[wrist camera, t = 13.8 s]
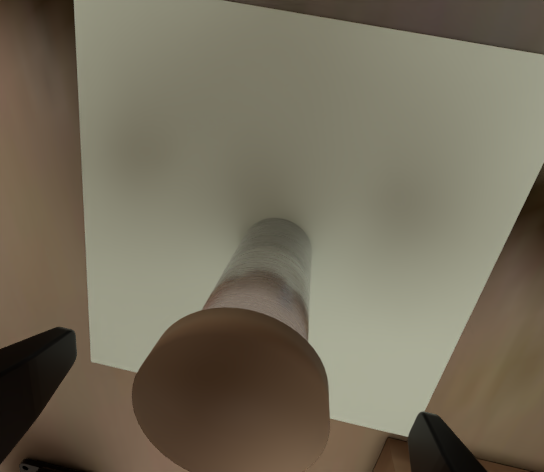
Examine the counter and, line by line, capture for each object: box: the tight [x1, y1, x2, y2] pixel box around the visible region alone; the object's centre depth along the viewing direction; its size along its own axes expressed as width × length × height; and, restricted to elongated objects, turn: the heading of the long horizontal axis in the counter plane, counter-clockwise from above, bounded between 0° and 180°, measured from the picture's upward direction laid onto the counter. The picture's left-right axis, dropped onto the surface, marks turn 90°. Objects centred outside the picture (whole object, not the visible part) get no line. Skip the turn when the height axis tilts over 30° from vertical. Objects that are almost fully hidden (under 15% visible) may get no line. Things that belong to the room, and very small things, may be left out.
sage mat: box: [74, 0, 544, 437], centre depth 17 cm, size 20×20×1 cm
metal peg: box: [132, 218, 330, 472], centre depth 12 cm, size 5×5×10 cm
